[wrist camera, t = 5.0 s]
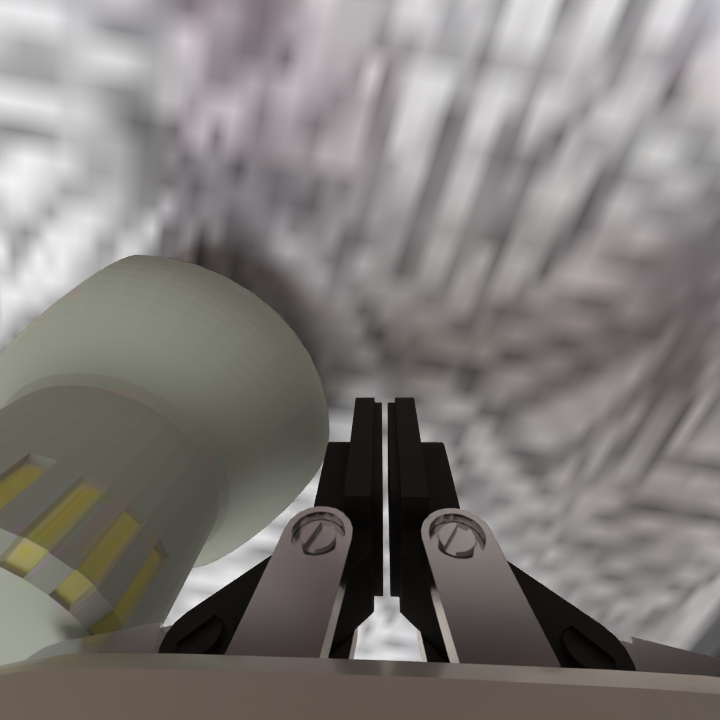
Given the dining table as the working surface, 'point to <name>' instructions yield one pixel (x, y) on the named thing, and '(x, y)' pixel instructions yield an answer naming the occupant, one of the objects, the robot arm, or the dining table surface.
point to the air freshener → (143, 445)
